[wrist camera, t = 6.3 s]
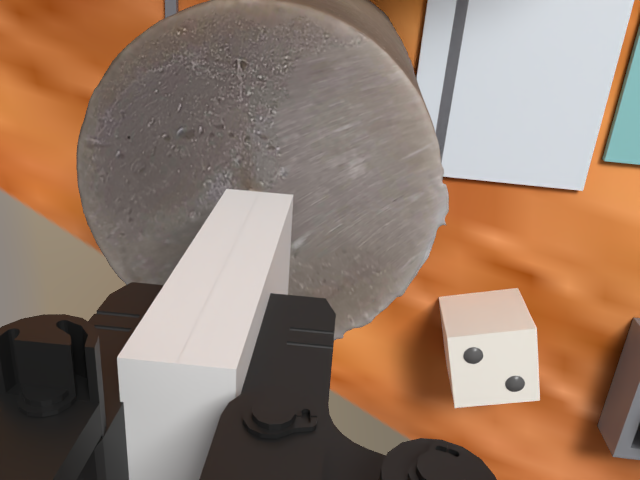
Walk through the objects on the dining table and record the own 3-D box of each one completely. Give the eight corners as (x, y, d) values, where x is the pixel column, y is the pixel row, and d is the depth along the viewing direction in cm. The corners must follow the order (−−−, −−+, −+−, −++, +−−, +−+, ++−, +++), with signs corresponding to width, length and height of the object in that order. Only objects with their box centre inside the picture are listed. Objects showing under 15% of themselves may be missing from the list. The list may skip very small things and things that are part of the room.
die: (438, 296, 32) (447, 338, 28) (517, 287, 31) (536, 328, 28) (445, 360, 33) (454, 408, 30) (521, 353, 33) (540, 400, 29)
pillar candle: (186, -9, 27) (-8, 18, 13) (412, -31, 26) (455, -26, 12) (221, 200, 31) (99, 388, 17) (418, 188, 30) (455, 379, 16)
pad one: (432, -36, 26) (433, -36, 25) (636, -18, 25) (638, -18, 25) (402, 170, 29) (403, 172, 29) (580, 188, 29) (582, 190, 29)
